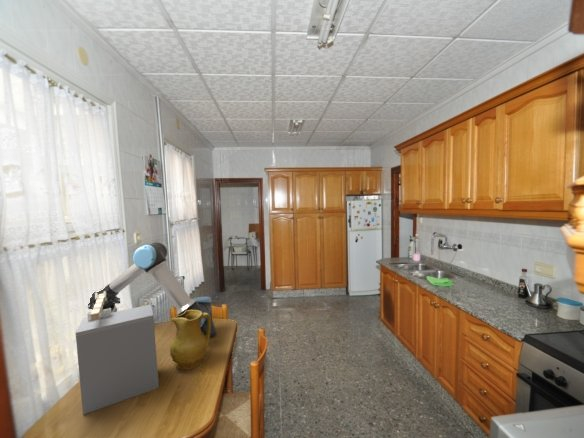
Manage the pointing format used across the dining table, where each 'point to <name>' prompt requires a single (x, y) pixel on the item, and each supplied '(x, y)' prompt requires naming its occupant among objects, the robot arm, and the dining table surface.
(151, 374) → the stand
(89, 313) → the ridge
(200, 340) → the pitcher
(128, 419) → the dining table surface
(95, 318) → the rod
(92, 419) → the dining table surface
